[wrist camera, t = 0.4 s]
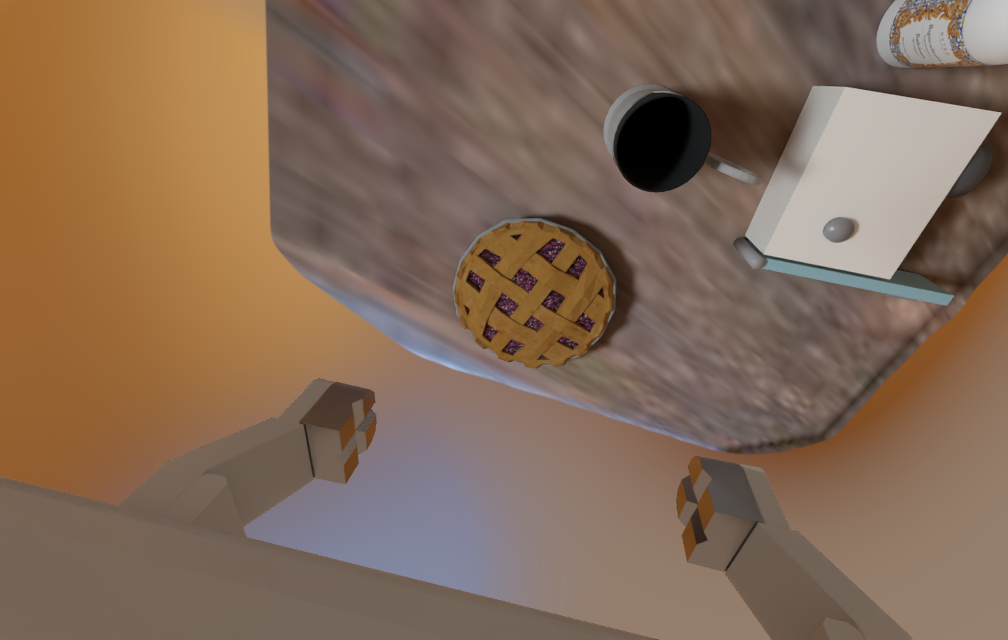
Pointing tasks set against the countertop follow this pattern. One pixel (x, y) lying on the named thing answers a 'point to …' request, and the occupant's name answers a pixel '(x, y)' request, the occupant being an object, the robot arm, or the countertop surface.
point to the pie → (534, 292)
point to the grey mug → (662, 140)
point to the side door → (849, 276)
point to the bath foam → (944, 33)
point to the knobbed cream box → (868, 177)
